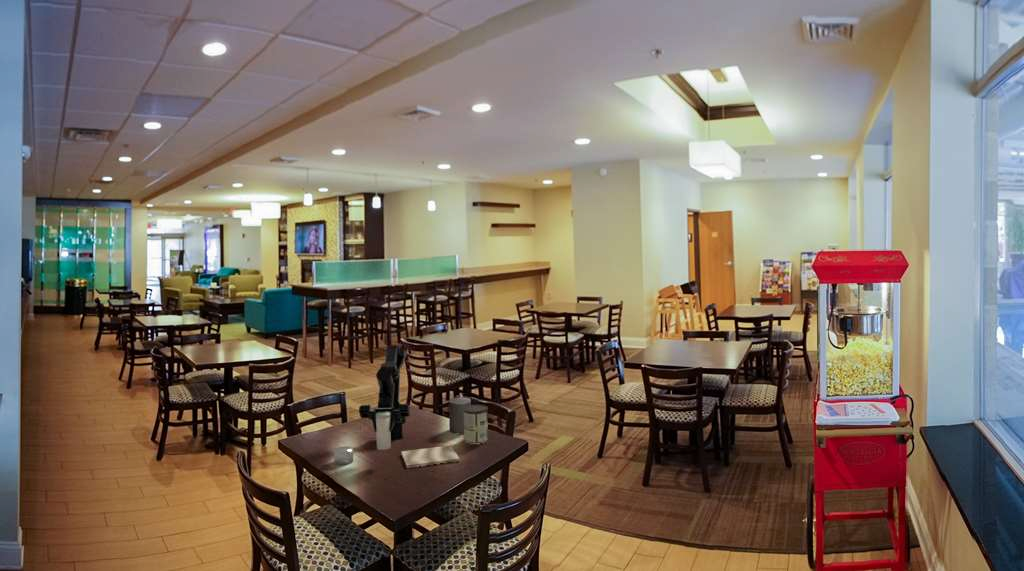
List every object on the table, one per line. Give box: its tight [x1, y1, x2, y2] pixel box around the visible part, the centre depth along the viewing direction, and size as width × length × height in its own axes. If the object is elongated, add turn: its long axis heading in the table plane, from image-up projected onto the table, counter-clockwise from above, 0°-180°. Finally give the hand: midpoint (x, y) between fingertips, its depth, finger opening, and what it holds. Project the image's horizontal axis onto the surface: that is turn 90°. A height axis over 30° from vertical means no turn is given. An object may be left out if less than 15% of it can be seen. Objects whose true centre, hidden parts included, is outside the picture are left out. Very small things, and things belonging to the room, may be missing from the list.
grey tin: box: [333, 446, 354, 467], centre depth 220 cm, size 7×7×5 cm
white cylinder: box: [375, 411, 392, 451], centre depth 216 cm, size 5×5×13 cm
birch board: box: [401, 445, 460, 469], centre depth 223 cm, size 20×15×1 cm
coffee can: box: [463, 404, 489, 445], centre depth 242 cm, size 10×10×14 cm
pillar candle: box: [448, 396, 472, 434], centre depth 255 cm, size 10×10×15 cm
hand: (382, 431), depth 214 cm, fingers closed on white cylinder, 5 cm apart
